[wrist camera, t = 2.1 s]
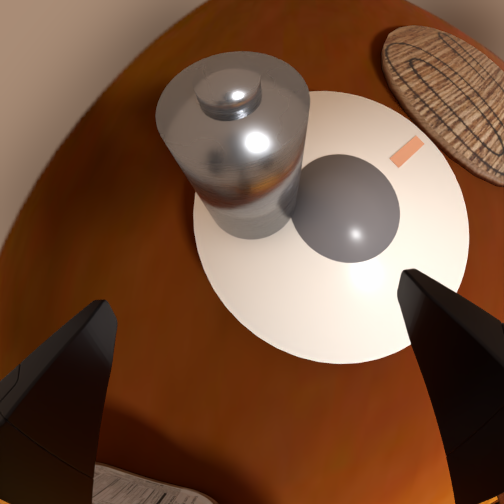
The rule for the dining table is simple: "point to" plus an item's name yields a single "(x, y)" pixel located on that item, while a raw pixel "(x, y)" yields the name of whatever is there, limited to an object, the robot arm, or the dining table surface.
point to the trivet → (450, 96)
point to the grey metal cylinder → (239, 138)
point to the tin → (139, 489)
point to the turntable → (344, 237)
